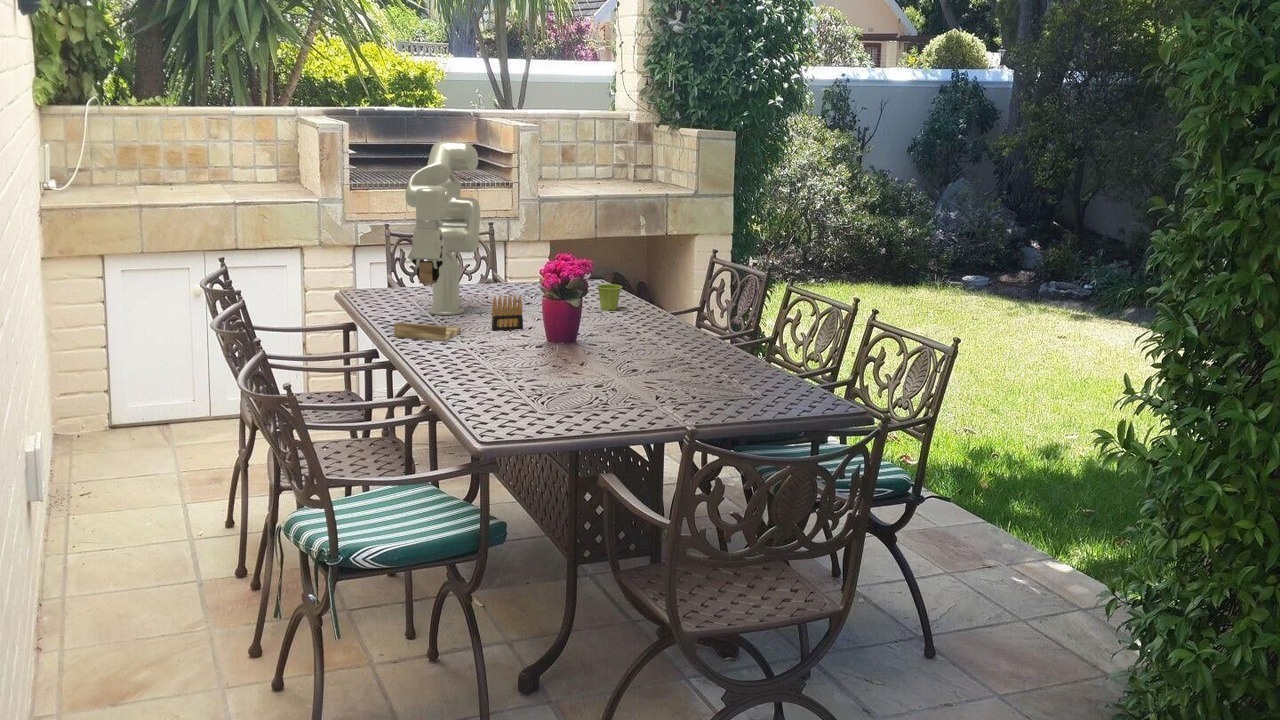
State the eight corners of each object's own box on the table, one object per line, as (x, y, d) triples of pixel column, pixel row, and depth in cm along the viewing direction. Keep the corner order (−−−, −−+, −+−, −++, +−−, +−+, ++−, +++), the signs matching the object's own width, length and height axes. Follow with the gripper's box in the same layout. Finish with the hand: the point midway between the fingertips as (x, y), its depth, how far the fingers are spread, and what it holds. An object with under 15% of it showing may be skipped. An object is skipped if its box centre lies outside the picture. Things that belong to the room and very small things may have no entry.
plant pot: (626, 308, 479) (626, 286, 477) (612, 312, 471) (612, 289, 469) (605, 305, 484) (606, 283, 482) (591, 309, 476) (592, 286, 474)
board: (411, 329, 434) (411, 316, 433) (460, 333, 429) (460, 320, 428) (394, 336, 422) (394, 323, 421) (444, 341, 417) (444, 327, 416)
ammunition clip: (521, 328, 440) (521, 294, 437) (523, 329, 438) (523, 295, 436) (491, 329, 436) (491, 295, 434) (492, 331, 435) (492, 296, 432)
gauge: (433, 278, 437) (432, 258, 436) (445, 279, 436) (445, 258, 435) (419, 283, 426) (419, 262, 425) (431, 283, 425) (431, 263, 424)
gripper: (455, 225, 425) (456, 279, 429) (408, 223, 430) (409, 276, 433) (446, 227, 418) (447, 282, 422) (399, 225, 422) (400, 279, 426)
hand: (428, 279), depth 428 cm, fingers closed on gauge, 4 cm apart
